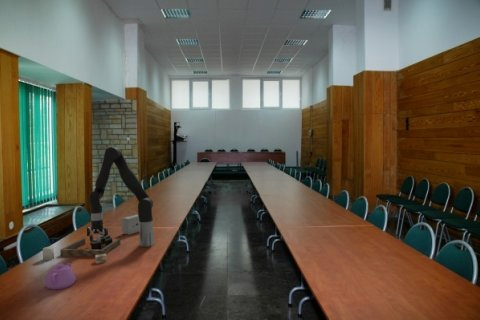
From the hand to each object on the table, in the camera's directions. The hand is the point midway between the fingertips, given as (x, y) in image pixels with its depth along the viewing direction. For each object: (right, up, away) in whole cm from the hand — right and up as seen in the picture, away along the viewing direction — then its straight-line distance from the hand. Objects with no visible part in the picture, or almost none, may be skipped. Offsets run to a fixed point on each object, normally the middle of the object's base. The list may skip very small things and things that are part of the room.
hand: (97, 241), depth 237 cm
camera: (+4, -4, -7) cm, 9 cm away
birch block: (+14, -5, -30) cm, 34 cm away
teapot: (+8, -7, -62) cm, 63 cm away
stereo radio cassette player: (+14, -1, +38) cm, 41 cm away
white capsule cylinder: (-20, -5, -25) cm, 32 cm away
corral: (-1, -4, -7) cm, 8 cm away
